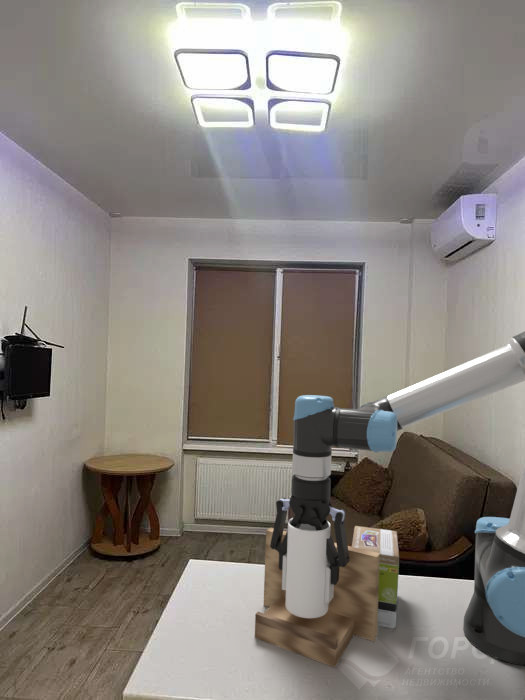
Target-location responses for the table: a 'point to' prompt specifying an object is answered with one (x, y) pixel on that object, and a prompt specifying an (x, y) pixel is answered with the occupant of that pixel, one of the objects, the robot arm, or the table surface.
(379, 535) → the tea box
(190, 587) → the table surface
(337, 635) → the board
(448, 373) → the robot arm
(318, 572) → the cup
